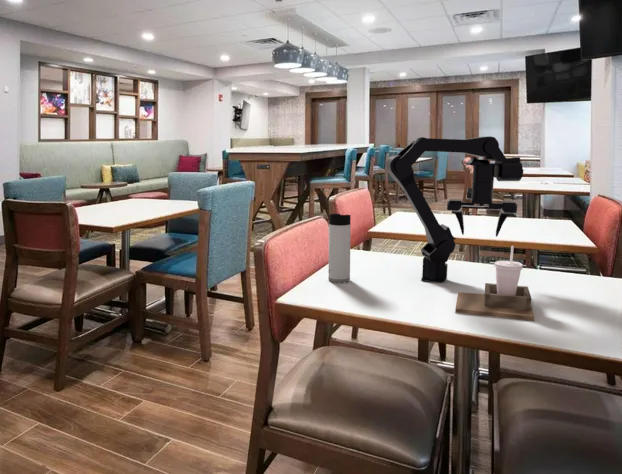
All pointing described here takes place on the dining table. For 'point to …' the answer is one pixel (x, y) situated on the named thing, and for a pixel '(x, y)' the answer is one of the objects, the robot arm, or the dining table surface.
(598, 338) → the dining table surface
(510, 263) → the smoothie
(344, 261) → the travel mug
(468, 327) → the dining table surface
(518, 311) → the holder
